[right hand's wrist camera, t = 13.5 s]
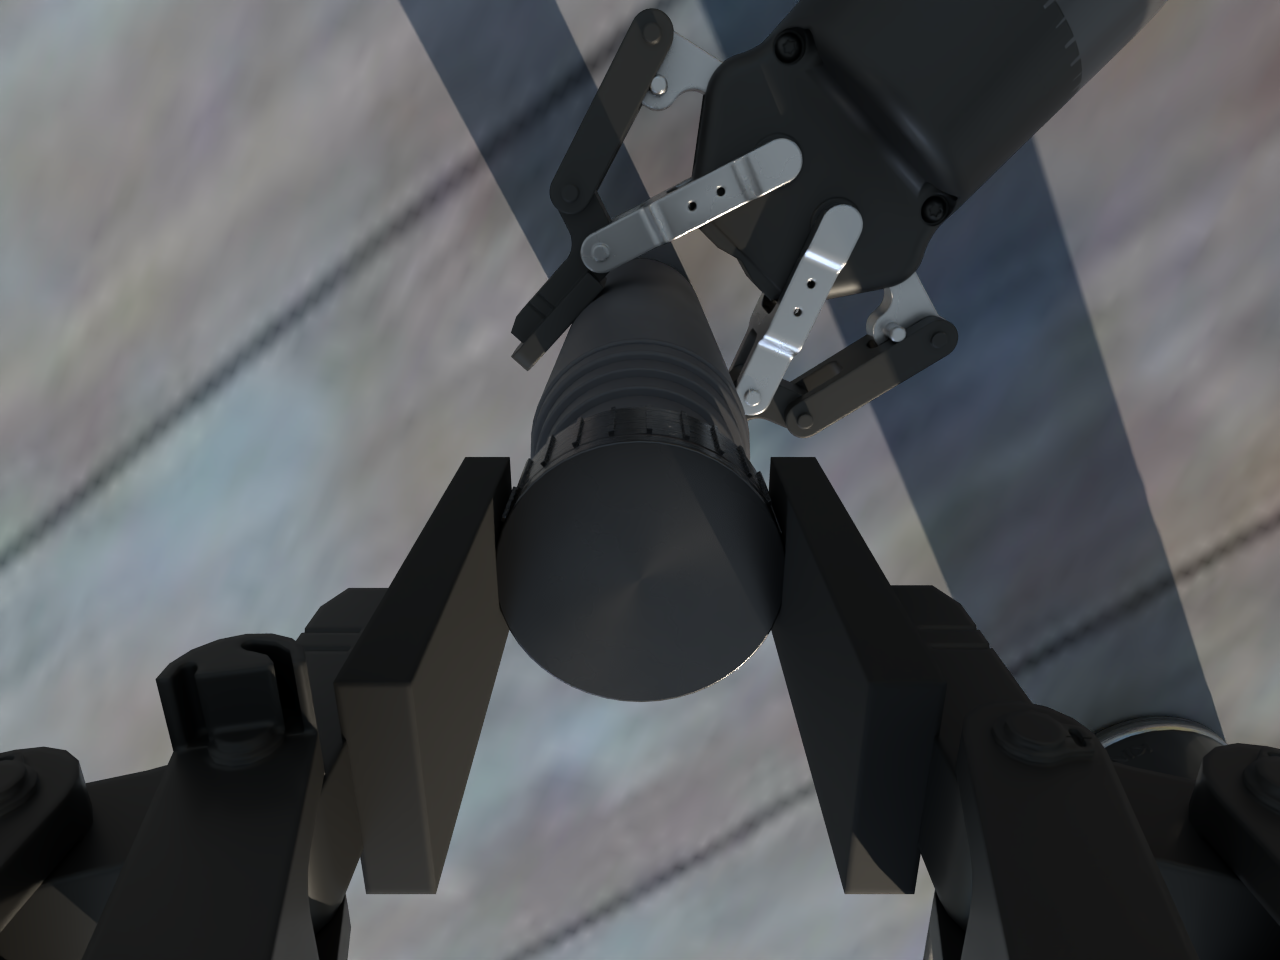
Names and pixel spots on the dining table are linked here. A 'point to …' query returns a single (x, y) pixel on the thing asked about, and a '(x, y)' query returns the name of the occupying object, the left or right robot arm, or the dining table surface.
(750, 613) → the cap
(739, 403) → the bottle
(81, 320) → the dining table surface
